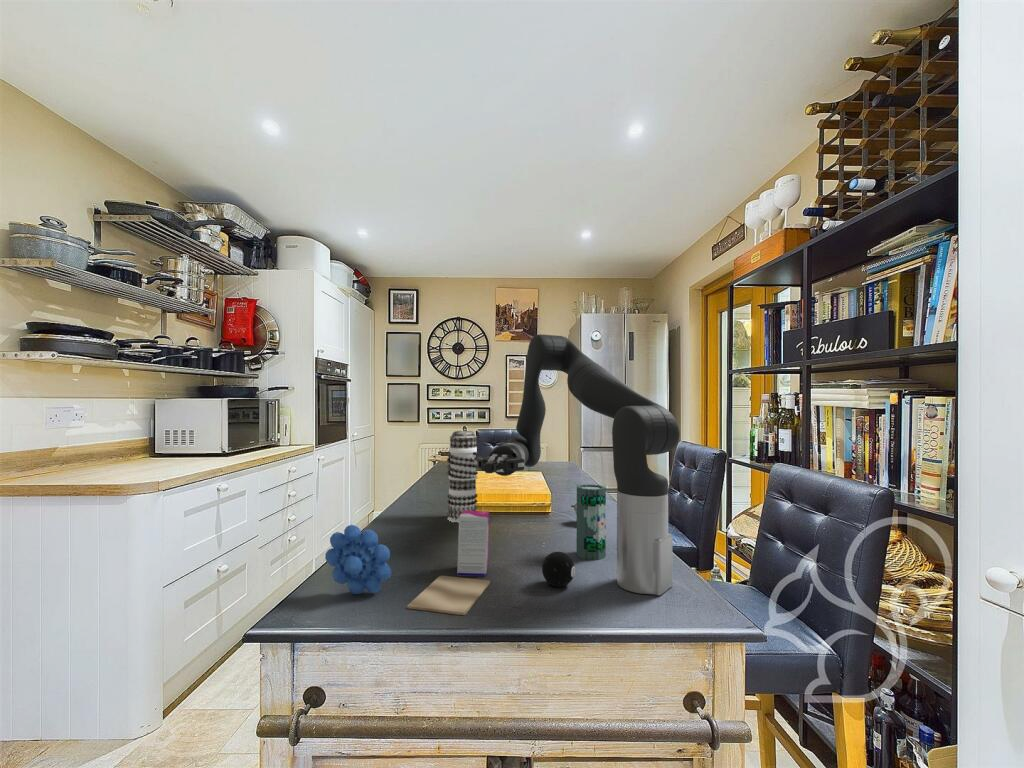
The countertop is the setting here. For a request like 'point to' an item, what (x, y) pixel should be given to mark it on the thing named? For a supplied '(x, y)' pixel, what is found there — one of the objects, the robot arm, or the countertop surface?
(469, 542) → the supplement box
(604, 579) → the countertop surface
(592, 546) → the can
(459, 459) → the grey white cylinder
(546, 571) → the billiard ball
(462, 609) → the brown paper envelope
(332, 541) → the blue knobbed wheel
